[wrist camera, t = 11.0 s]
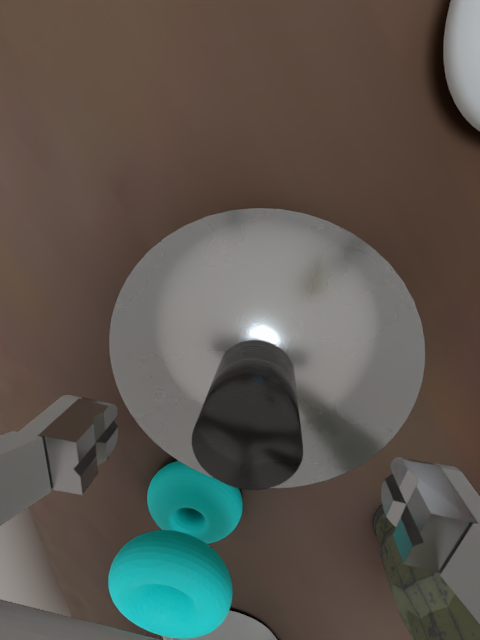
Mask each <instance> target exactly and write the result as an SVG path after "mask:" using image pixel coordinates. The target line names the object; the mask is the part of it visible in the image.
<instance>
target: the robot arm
mask: <svg viewBox="0 0 480 640" xmlns="http://www.w3.org/2000/svg"><path fill="white" fill-rule="evenodd" d="M117 415H118V414H117V406H116V405H114V404H111V403H107V402H102V401H97V400H93V399H88V398H81V397H77V396H72V395H64V396H62V397H60V398H59V399H58V400H57V401H55V402H54V403H53V404H52V405H50V406H49V407H48V408H47V409H46V410H44V411H43V412H42V413H41V414H39V415H38V416H37V417H36V418H35V419H33V420H32V421H31V422H30V423H28V424H27V425H26V426H25V427H24V428H22V429H21V430H20V431H19V432H16V431H11V432H9V433H6V434H3V435H1V436H0V526H1V525H2V524H4V523H5V522H7V521H8V520H10V519H11V518H13V517H14V516H15V515H17V514H19V513H20V512H21V511H23V510H25V509H26V508H28V507H29V506H31V505H32V504H34V503H35V502H37V501H38V500H40V499H41V498H43V497H44V496H46V495H47V494H49V493H50V492H51V491H52V490H57V491H63V492H68V493H74V494H79V495H83V493H84V492H85V491H86V489H87V488H88V486H89V485H90V484H91V482H92V481H93V479H94V478H95V477H96V475H97V474H98V468H97V466H98V465H99V464H101V463H103V462H105V461H106V460H108V458H109V457H110V455H111V454H112V452H113V450H114V448H115V445H116V443H117V439H118V426H117V425H116V424H115V422H114V421H113V420H114V419H115V418H116V417H117ZM390 469H391V471H392V473H393V474H392V475H390V476H389V477H387V478H385V480H384V482H383V485H382V489H381V500H382V506H383V509H384V512H385V515H386V517H387V518H388V519H389V521H390V522H391V523H392V524H393V525H394V526H395V530H394V533H393V537H394V539H395V542H396V545H397V548H398V550H399V553H400V556H401V558H402V561H403V564H405V565H409V566H413V567H417V568H421V569H425V570H429V571H433V572H437V573H441V575H440V576H441V577H442V578H443V579H444V581H445V582H446V583H447V584H448V586H449V587H450V588H451V589H452V591H453V592H454V593H455V594H456V595H457V597H458V598H459V599H460V600H461V602H462V603H463V604H464V605H465V607H466V608H467V609H468V610H469V612H470V613H471V614H472V615H473V616H474V618H475V619H476V620H477V621H478V623H479V624H480V496H479V495H478V494H477V492H476V491H475V490H474V488H473V487H472V486H471V484H470V483H469V481H468V480H467V479H466V477H465V476H464V475H463V473H462V472H461V471H460V470H458V469H457V468H456V467H452V466H446V465H440V464H432V463H427V462H422V461H416V460H411V459H405V458H400V457H396V458H395V459H394V460H393V461H392V463H391V465H390ZM51 489H52V490H51ZM162 637H163V640H277V639H276V638H275V636H274V635H273V634H272V632H271V631H270V630H269V629H268V628H267V627H265V626H264V625H263V624H261V623H260V622H258V621H256V620H255V619H253V618H251V617H248V616H246V615H243V614H240V613H237V612H234V611H229V612H228V614H227V616H226V618H225V619H224V621H223V622H222V623H221V625H219V626H218V627H217V628H216V629H215V630H214V631H212V632H210V633H208V634H206V635H203V636H200V637H196V638H187V639H180V638H171V637H166V636H162ZM0 640H159V639H155V638H152V637H148V636H144V635H140V634H136V633H132V632H128V631H124V630H120V629H116V628H112V627H108V626H104V625H100V624H96V623H92V622H88V621H84V620H80V619H76V618H72V617H68V616H63V615H60V614H56V613H52V612H48V611H44V610H40V609H36V608H32V607H28V606H24V605H20V604H16V603H12V602H8V601H4V600H0Z"/></svg>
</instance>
